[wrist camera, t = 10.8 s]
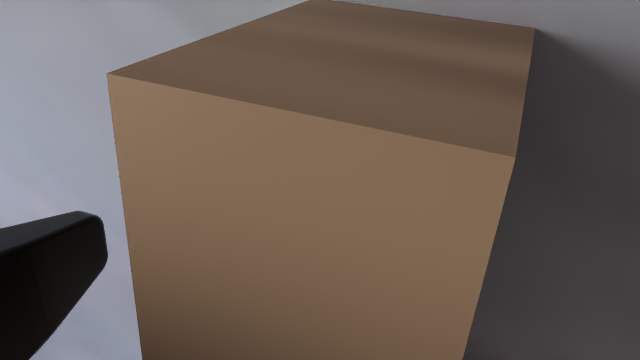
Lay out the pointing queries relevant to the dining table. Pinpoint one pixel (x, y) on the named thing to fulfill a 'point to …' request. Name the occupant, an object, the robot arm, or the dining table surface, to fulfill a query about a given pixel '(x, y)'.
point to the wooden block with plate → (318, 183)
